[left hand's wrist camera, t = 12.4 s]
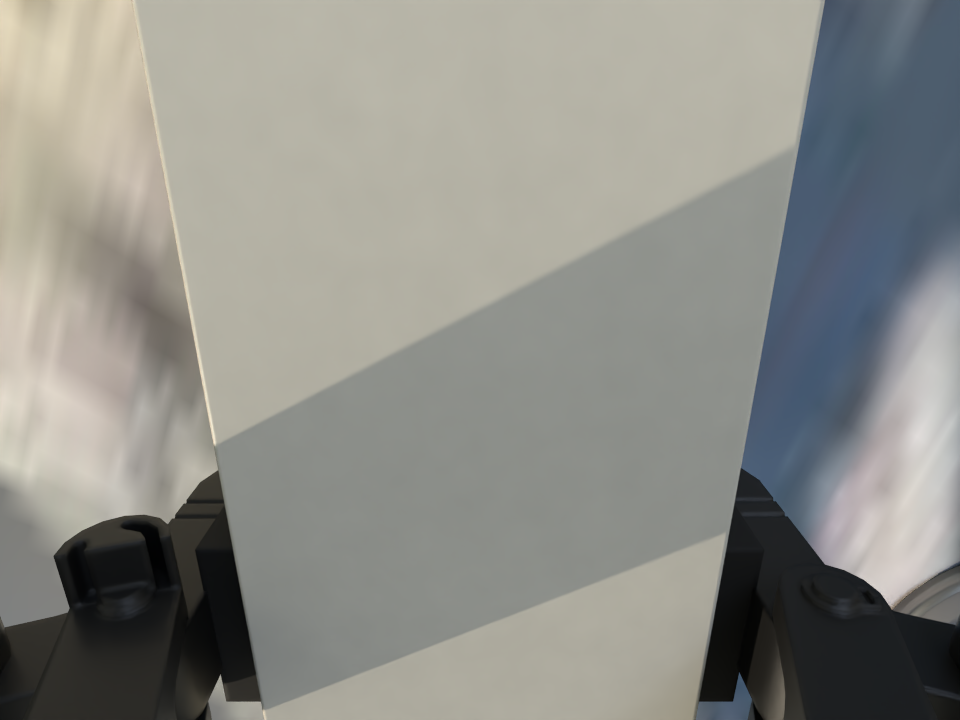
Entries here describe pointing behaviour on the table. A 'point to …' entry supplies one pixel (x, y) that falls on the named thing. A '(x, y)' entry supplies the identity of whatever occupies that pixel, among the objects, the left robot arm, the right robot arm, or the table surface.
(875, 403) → the table surface
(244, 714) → the table surface
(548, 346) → the beam
